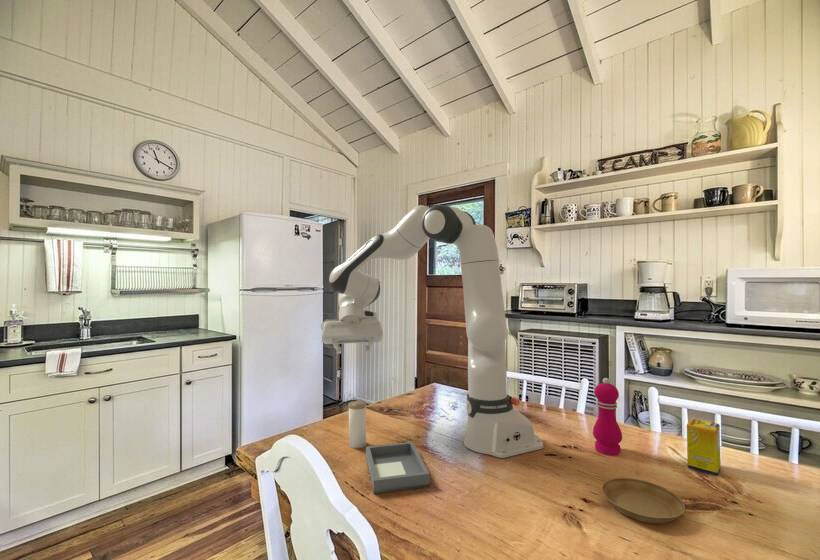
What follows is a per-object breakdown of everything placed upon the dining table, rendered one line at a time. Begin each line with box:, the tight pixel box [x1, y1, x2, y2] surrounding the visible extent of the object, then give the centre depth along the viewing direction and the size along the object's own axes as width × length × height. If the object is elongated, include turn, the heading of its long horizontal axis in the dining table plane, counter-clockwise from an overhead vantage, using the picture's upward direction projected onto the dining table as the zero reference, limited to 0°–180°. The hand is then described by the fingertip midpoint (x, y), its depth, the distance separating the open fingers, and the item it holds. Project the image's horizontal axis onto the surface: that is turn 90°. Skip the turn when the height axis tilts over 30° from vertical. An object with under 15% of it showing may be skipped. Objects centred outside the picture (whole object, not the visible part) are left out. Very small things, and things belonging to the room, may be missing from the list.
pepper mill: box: [592, 377, 623, 456], centre depth 104 cm, size 7×7×20 cm
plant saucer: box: [600, 477, 686, 525], centre depth 78 cm, size 15×15×3 cm
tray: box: [365, 441, 431, 495], centre depth 95 cm, size 13×18×3 cm
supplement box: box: [686, 418, 722, 477], centre depth 94 cm, size 6×6×11 cm
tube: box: [347, 400, 367, 449], centre depth 111 cm, size 5×5×12 cm
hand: (353, 352), depth 123 cm, fingers open, 8 cm apart
